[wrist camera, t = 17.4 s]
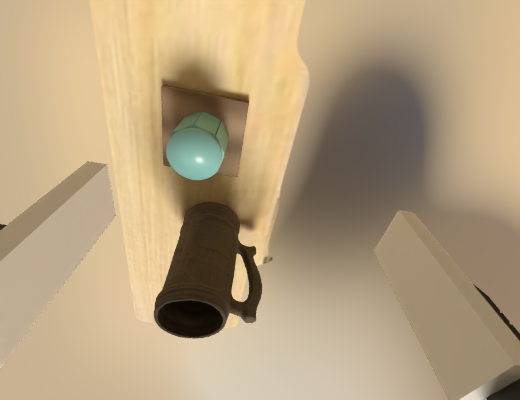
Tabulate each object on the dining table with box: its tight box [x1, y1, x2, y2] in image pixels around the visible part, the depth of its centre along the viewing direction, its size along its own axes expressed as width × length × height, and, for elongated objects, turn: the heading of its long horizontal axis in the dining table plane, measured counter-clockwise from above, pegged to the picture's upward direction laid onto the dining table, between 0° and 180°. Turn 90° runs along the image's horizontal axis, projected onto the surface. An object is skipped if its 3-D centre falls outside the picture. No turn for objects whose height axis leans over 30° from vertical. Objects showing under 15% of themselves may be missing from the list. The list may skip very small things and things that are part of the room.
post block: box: [161, 85, 249, 177], centre depth 36 cm, size 12×12×7 cm
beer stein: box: [154, 203, 262, 338], centre depth 42 cm, size 15×11×20 cm
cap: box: [166, 111, 229, 180], centre depth 36 cm, size 7×7×7 cm
